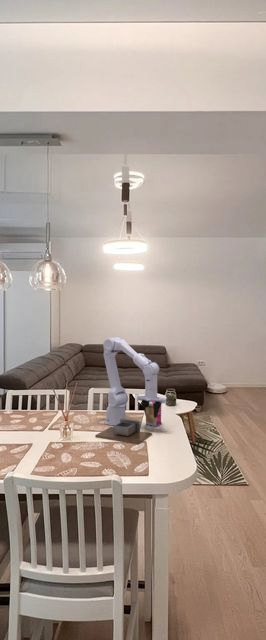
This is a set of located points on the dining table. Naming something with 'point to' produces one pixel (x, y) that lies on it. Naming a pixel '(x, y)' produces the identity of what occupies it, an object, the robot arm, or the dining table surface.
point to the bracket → (125, 432)
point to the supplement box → (157, 417)
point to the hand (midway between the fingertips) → (151, 416)
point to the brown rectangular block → (150, 414)
